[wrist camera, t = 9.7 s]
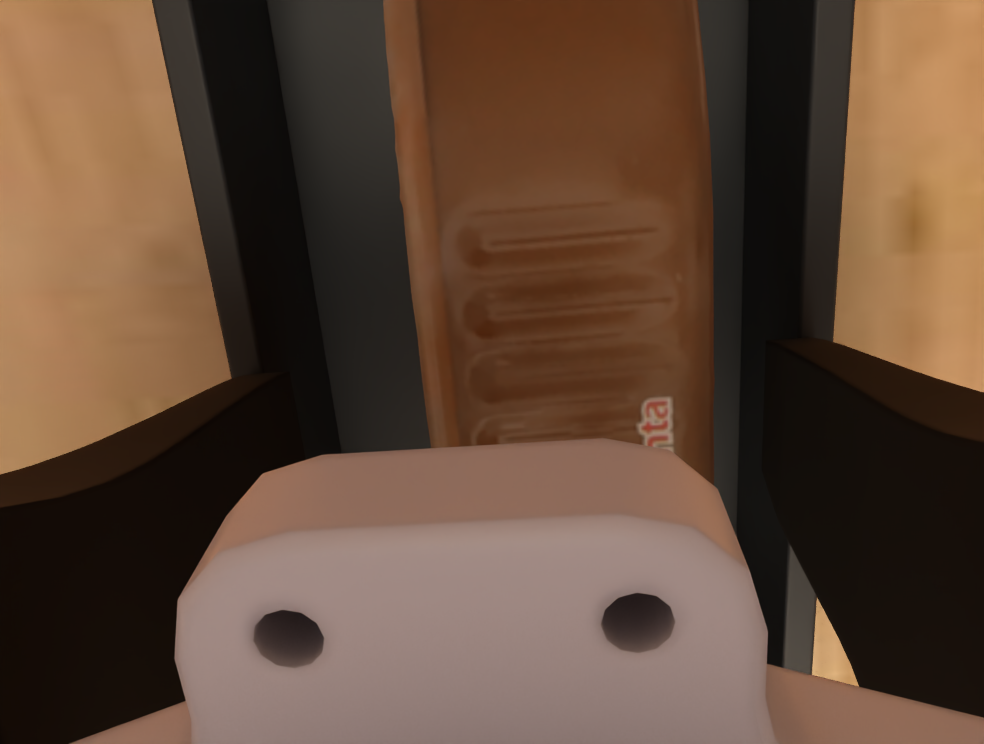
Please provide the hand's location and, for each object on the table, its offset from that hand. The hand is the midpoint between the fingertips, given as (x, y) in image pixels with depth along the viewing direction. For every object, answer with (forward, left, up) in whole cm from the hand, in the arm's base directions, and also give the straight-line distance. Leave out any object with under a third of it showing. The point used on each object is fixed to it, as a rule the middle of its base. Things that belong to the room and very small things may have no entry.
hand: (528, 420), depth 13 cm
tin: (0, 0, -4) cm, 4 cm away
